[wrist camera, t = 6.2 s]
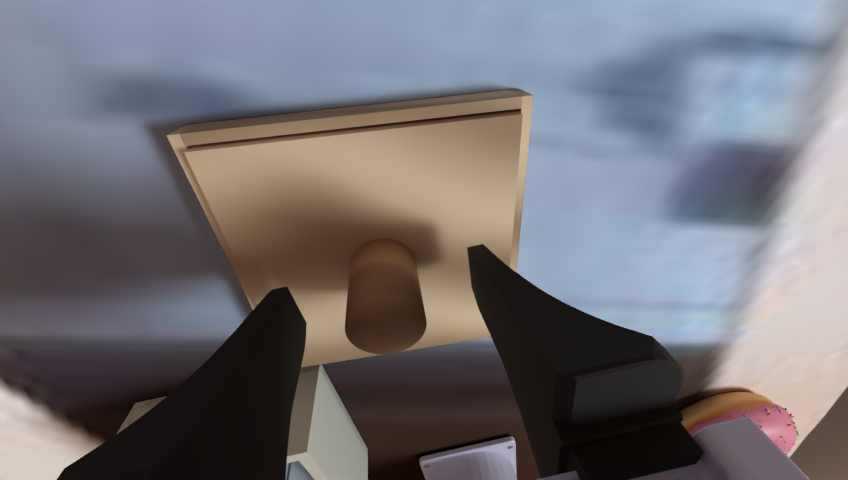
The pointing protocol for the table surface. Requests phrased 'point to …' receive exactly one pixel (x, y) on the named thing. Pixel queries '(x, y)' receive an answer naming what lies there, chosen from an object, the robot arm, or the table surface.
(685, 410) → the doughnut
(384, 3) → the table surface
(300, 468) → the block
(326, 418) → the storage box
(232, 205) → the lid
